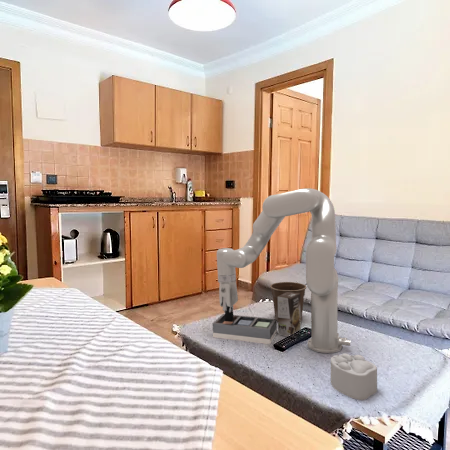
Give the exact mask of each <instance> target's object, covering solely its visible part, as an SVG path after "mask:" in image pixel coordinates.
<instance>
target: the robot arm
mask: <svg viewBox="0 0 450 450" xmlns="http://www.w3.org/2000/svg"><path fill="white" fill-rule="evenodd" d="M261 209H262V211H261V212H260V213H259V215H258V217H257V218H256V219H255V221H254V222H253V224H252V233H251V235H250V237H249V238H248V240H247V242H246V243H245V244H244V246H243V247H242V246H241V247H240V248H238V249H233V248H230V247H229V248H228V247H223V248H219V249H218V250H217V251H216V267H217V282H218V283H219V287H218V288H219V291H218V293H219V299H218V300H219V306H220V307H221V308H222V311H223V312H224V314H225V321H228V322H232V321H233V320H234V317H233V315H234V305H236V303H237V302H238V300H239V299H238V296H239V295H238V288H237V272H236V268H237V269H242V268H246V267H247V266H249V265H250V264H253V263H254V262H255V261H256V260H257V259H258V258H259V256H260V254H261V253H262V252H263V250H264V249H265V248H266V246H267V244H268V242H269V240H270V239H271V237H272V236H273V234H274V233H275V231H276V230H277V229H278V227H279V226H280V225H281V223H282V222H283V220H284V219H285V218H286V217H289V216H290V217H291V216H295V215H301V214H305V213H310V214H311V240H310V241H309V242H308V244H307V245H306V250H305V282H306V287H307V288H308V290H309V291H310V314H311V315H310V316H311V317H310V319H311V323H310V324H311V332H310V333H311V337H310V338H309V339H308V340H307V343H306V344H307V347H308V348H309V349H310V350H312V351H314V352H317V353H322V354H335V353H338V352H340V351H341V350H342V348H343V346H348V347H350V346H351V339H350V340H348V338H347V337H341V336H340V334H339V332H338V327H339V326H338V292H339V291H338V289H339V288H338V287H339V275H338V271H337V270H336V268H335V255H336V253H337V234H336V233H337V231H336V212H335V207H334V204H333V203H332V200H331V199H330V198H329V196H328V195H327V194H325V193H324V192H322V191H320V190H318V189H316V188H306V187H305V188H300V189H299V188H298V189H295V190H291V191H287V192H286V191H285V192H282V193H277V194H272V195H268V196H267V197H266V198H265V199H264V201H263V203H262V207H261Z"/></svg>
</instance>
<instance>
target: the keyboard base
mask: <svg viewBox="0 0 450 450" xmlns="http://www.w3.org/2000/svg"><path fill="white" fill-rule="evenodd" d="M277 334H278V328H277V329H276V330H275V332H274V334H273V335H272V337H271V339H263V338H254V337H246V336H237V335H229V334H220V333H213V332H212V337H213V338H215V339H223V340H224V339H225V340H231V341H240V342H247V343H256V344H264V345H271V343H272V342H273V340H274V339H275V337H276V335H277Z"/></svg>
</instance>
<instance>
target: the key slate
mask: <svg viewBox="0 0 450 450" xmlns="http://www.w3.org/2000/svg"><path fill="white" fill-rule="evenodd" d="M251 323H252V321H248V320H240V321H239V323H238V324H237V325H241V326H250V324H251Z"/></svg>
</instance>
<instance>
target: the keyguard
mask: <svg viewBox="0 0 450 450" xmlns="http://www.w3.org/2000/svg"><path fill="white" fill-rule="evenodd" d="M233 317H234V320H233V321H232V322H233V323H232V324H222V323H223V322H224V321H225V313H223V314H221V315H220V316H219V317H218V318H217V319H216V320H214V322H213V323H212V334H213V333H220V334H229V335H237V336H246V337H254V338H263V339H271V337H272V335H273V334H274V332H275V330H276V329H277V330H278V322H277V319H275V318H269V317H259V316H258V317H257V316H249V315H237V314H236V315H235V314H233ZM240 320H248V321H252V323H251V324H250V326H241V325H237V324H238V323H239V321H240ZM257 322H268V323H270V326H269V327H268V328H260V327H255V325H256V324H257Z"/></svg>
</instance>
